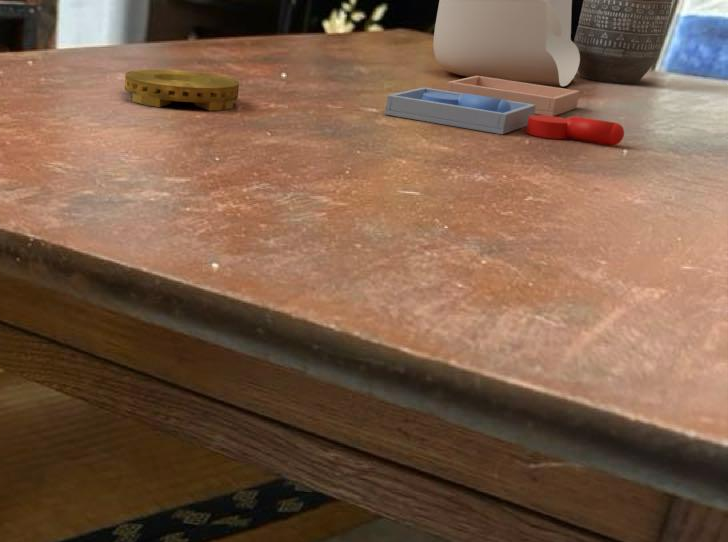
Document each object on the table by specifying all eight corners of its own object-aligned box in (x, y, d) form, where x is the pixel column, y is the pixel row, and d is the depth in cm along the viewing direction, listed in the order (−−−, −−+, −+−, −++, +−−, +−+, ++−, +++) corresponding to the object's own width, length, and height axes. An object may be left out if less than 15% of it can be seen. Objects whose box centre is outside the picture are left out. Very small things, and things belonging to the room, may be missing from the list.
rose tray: (576, 108, 135) (580, 90, 134) (552, 116, 127) (556, 98, 126) (472, 92, 141) (476, 75, 140) (444, 99, 133) (447, 81, 132)
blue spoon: (514, 120, 119) (518, 98, 118) (501, 124, 116) (505, 102, 115) (429, 106, 124) (432, 85, 123) (414, 110, 120) (417, 88, 119)
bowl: (447, 63, 167) (462, -24, 161) (577, 80, 160) (597, -10, 154) (410, 75, 151) (426, -21, 145) (553, 95, 144) (575, -5, 138)
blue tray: (532, 124, 121) (536, 104, 120) (502, 134, 114) (506, 114, 113) (419, 105, 127) (422, 87, 126) (384, 114, 119) (387, 94, 118)
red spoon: (625, 144, 114) (631, 122, 113) (615, 149, 111) (621, 126, 110) (532, 129, 118) (537, 107, 117) (520, 133, 115) (524, 111, 114)
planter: (643, 88, 158) (668, -10, 152) (558, 76, 163) (579, -20, 157) (657, 81, 167) (682, -12, 161) (576, 70, 172) (597, -21, 166)
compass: (230, 95, 123) (232, 74, 122) (243, 113, 113) (245, 91, 112) (123, 87, 122) (124, 66, 121) (125, 105, 112) (126, 82, 111)
